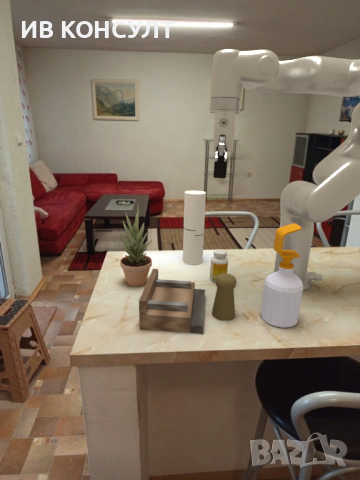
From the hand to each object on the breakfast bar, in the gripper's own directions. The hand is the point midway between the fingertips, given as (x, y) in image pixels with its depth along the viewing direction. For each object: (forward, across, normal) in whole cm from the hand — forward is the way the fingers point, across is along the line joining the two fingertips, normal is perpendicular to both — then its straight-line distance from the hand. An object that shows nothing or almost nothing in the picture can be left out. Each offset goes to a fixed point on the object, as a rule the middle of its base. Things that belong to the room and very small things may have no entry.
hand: (220, 175), depth 85 cm
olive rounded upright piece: (+34, -15, -4) cm, 37 cm away
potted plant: (+34, -1, +23) cm, 41 cm away
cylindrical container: (+34, +19, +8) cm, 39 cm away
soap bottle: (+33, -14, -18) cm, 40 cm away
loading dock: (+33, -16, +9) cm, 38 cm away
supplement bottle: (+34, +5, -2) cm, 34 cm away
